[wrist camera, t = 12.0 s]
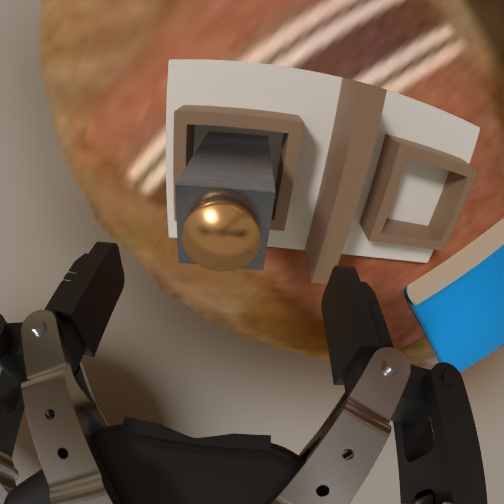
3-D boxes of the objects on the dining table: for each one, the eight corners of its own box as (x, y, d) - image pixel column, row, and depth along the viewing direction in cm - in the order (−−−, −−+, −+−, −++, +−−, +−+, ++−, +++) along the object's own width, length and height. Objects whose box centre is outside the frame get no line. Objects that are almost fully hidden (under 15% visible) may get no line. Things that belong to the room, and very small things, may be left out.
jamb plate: (470, 123, 18) (510, 144, 13) (421, 253, 26) (444, 291, 22) (174, 59, 17) (148, 60, 12) (173, 227, 25) (155, 268, 21)
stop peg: (268, 136, 19) (276, 202, 11) (261, 188, 21) (263, 281, 13) (208, 131, 19) (170, 193, 11) (206, 184, 21) (175, 273, 13)
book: (530, 225, 20) (527, 327, 30) (508, 204, 23) (517, 309, 34) (409, 313, 26) (448, 381, 37) (397, 285, 30) (440, 361, 41)
